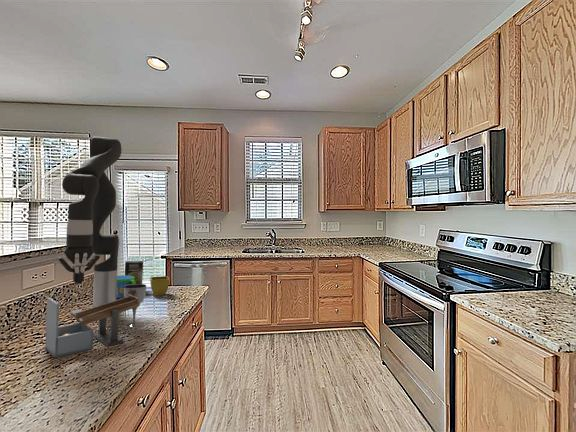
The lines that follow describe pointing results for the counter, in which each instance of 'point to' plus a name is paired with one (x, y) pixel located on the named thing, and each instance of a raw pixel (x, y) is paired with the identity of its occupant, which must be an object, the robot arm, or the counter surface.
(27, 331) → the counter surface
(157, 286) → the flower pot
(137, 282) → the coffee box
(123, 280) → the snack cup
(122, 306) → the lever
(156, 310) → the counter surface
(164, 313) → the counter surface
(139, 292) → the wine glass
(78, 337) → the grey-blue open bin
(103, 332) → the lever stand
